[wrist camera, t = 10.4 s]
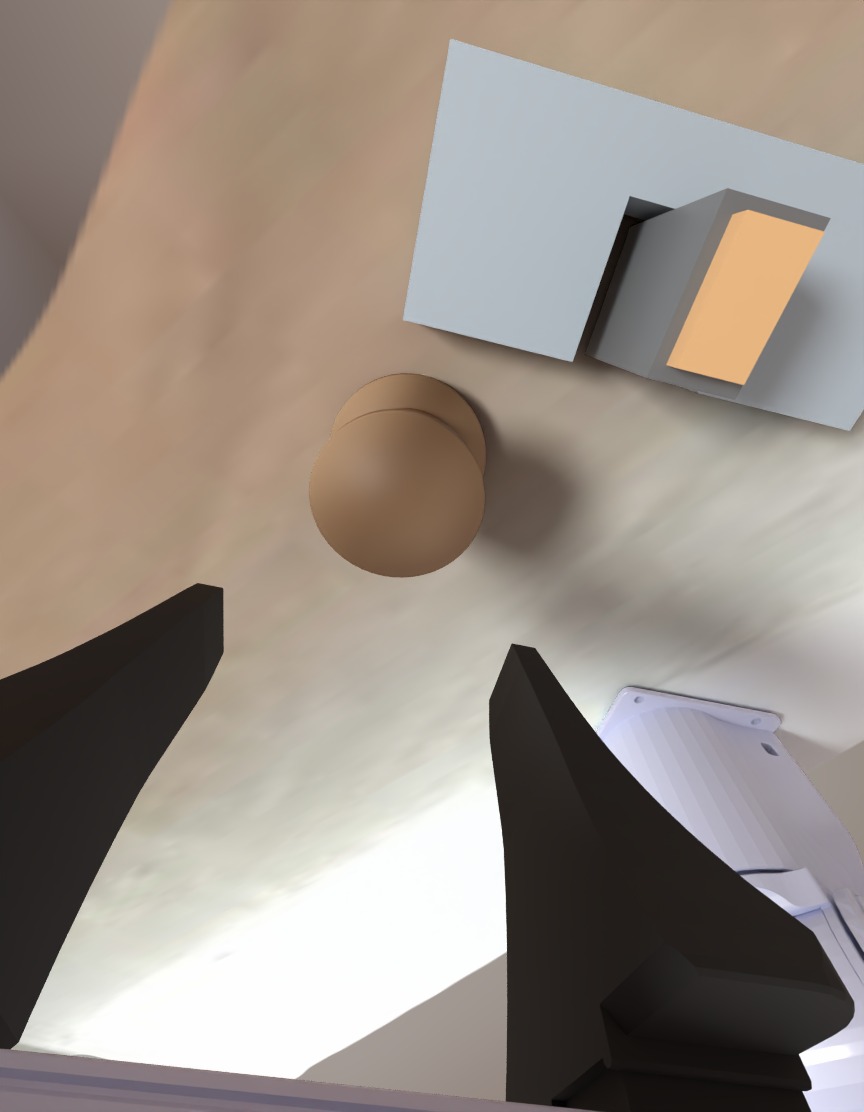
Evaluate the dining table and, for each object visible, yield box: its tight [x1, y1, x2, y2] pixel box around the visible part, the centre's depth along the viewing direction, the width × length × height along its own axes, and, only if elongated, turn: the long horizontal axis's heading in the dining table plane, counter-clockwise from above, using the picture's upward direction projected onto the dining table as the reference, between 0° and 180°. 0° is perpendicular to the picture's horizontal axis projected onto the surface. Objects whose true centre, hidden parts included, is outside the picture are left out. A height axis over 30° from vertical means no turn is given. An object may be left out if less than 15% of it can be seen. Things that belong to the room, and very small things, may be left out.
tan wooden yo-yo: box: [309, 373, 486, 577], centre depth 17 cm, size 6×6×5 cm
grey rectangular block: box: [585, 188, 831, 400], centre depth 13 cm, size 2×4×7 cm, turn 167°
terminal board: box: [403, 39, 864, 431], centre depth 15 cm, size 16×6×2 cm, turn 78°
